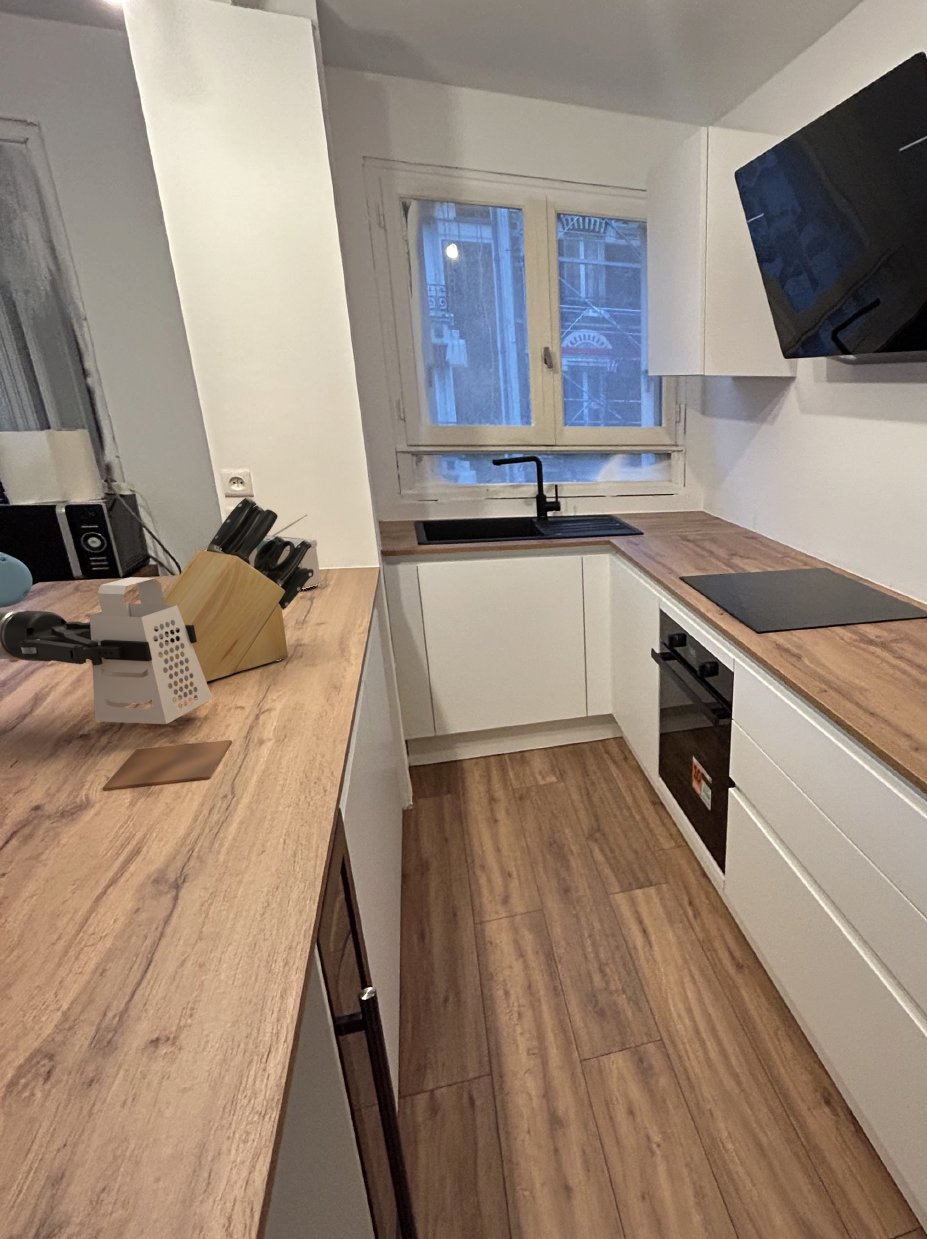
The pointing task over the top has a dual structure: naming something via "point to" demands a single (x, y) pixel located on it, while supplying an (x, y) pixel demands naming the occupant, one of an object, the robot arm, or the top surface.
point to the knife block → (239, 593)
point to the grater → (144, 678)
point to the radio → (307, 562)
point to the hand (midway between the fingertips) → (171, 642)
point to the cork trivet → (169, 764)
